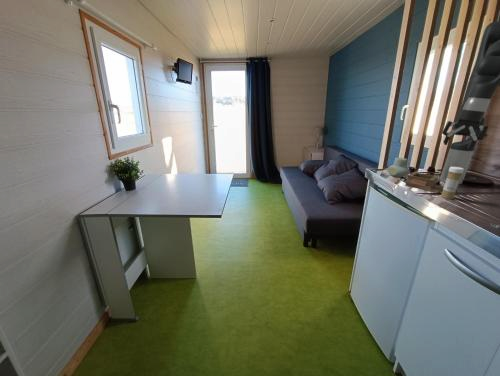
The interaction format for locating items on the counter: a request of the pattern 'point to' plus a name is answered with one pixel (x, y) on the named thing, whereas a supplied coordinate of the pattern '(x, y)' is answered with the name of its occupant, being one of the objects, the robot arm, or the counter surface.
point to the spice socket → (423, 182)
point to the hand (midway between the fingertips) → (456, 146)
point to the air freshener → (398, 168)
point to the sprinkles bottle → (452, 182)
